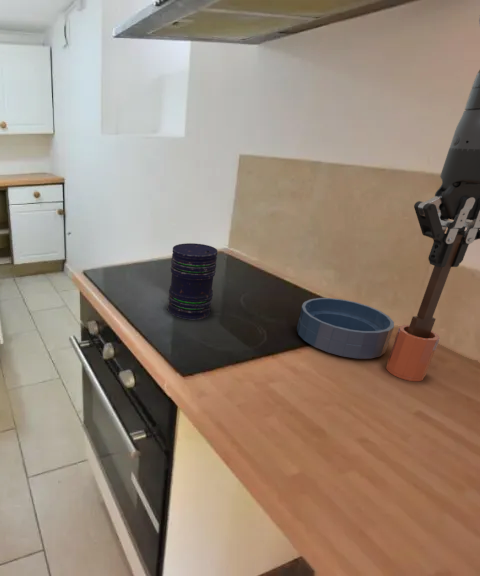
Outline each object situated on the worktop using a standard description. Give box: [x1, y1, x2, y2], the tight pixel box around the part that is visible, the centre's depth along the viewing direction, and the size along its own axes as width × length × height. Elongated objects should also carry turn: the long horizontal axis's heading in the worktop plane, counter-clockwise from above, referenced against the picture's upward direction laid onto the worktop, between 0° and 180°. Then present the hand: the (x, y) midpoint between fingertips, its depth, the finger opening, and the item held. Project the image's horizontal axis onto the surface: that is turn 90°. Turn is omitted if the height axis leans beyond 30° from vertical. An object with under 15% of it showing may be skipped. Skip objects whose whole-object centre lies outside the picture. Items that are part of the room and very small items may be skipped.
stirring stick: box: [407, 234, 463, 338], centre depth 60 cm, size 3×1×18 cm, turn 90°
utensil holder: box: [385, 324, 441, 382], centre depth 64 cm, size 5×5×8 cm
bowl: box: [296, 297, 395, 360], centre depth 75 cm, size 15×15×6 cm
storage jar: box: [167, 242, 219, 321], centre depth 86 cm, size 10×10×15 cm
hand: (443, 265), depth 59 cm, fingers closed on stirring stick, 1 cm apart
